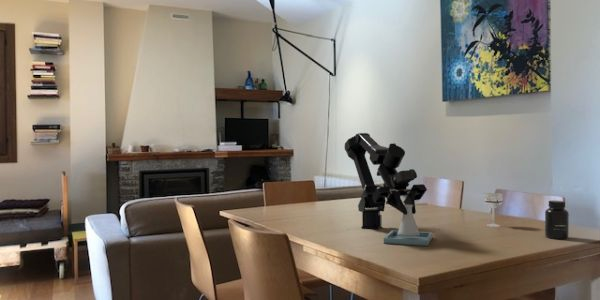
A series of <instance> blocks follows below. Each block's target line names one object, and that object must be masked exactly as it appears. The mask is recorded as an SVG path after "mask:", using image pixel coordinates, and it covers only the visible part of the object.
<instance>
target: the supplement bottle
mask: <svg viewBox="0 0 600 300" xmlns="http://www.w3.org/2000/svg"><path fill="white" fill-rule="evenodd" d="M547 206H548V208H547V209H545V213H544V236H545V237H546V238H547V239H553V240H568V238H569V233H570V232H569V227H570V222H569V221H570V220H569V219H570V217H569V216H570V214H569V211H568V210H567V209H566V201H565V200H564V201H563V200H548V205H547Z"/></svg>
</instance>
